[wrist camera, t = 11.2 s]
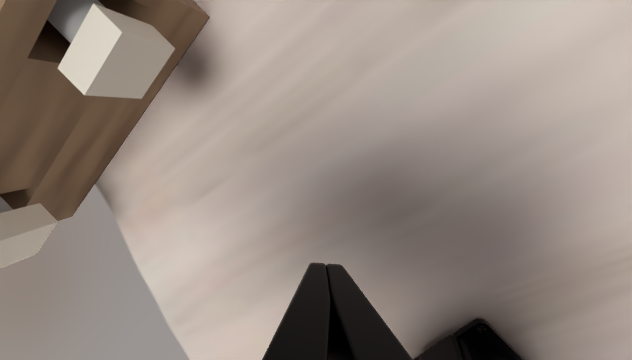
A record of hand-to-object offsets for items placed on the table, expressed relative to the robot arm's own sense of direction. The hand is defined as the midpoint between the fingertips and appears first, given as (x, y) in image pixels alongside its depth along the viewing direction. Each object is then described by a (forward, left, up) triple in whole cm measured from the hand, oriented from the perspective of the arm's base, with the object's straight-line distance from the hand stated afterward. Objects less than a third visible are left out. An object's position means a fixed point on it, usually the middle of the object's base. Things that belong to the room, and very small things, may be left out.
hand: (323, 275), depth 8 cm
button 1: (+16, +2, -7) cm, 18 cm away
